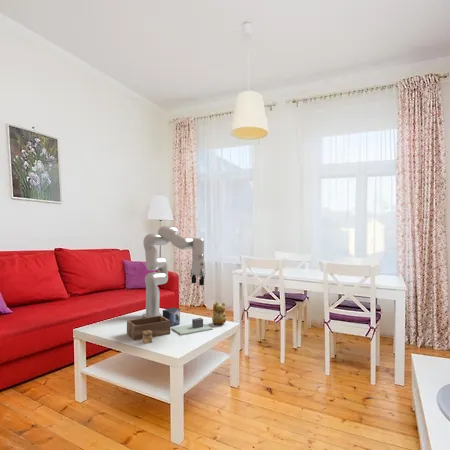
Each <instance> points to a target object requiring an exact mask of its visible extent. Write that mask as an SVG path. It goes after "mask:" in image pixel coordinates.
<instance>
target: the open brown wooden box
mask: <svg viewBox="0 0 450 450" xmlns="http://www.w3.org/2000/svg"><path fill="white" fill-rule="evenodd" d="M170 322H171V321H170V320H168V319H167V318H165V317H163V316H162V315H161V316H154V317H147V318H145V317H142V318H135V319H128V320H126V335H127V336H128V337H130V338H131V339H132V340H133V341H141V340H142V339H143V334H142V333H143V331H146V330H150V331H152V338H155V337H162V336H167V335H171V327H170Z"/></svg>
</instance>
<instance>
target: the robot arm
mask: <svg viewBox="0 0 450 450" xmlns="http://www.w3.org/2000/svg"><path fill="white" fill-rule="evenodd" d="M168 243H171V245H172V246H174V248H176V249H179V250H191V251H192V254H191V260H192V261H191V269H190V276H191V284H196V283H197V277H198V278H199V279H198V286H204V285H205V276H206V265H205V239H204V238H199V237H181V232H179V230H178V229H177V227H175V226H171V225H169V226H168V225H165V226H163V225H162V226H160V227H159V228H158V231H157V233H154V232H153V233H152V232H151V233H148V234H146V235H145V236H144V238H143V247H144V249H143V250H144V255H145V267H146V270H148V271H150V272H149V273H147V274H146V275H145V277H144V283H145V313H144V314H143V318H147V317H154V316H162V313H161V312H160V295H161V294H160V293H161V292H160V288H159V287H158V286H160V285H164V284H167V283H168V280H169V271H168V263H167V259H166V258H165V257H163V256H158V250H157V247H156V246H164V245H167V244H168ZM151 271H154V272H151Z"/></svg>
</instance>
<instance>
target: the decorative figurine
mask: <svg viewBox="0 0 450 450" xmlns="http://www.w3.org/2000/svg"><path fill="white" fill-rule="evenodd" d="M225 311H226V302H225V301H223V302H222V303H220V302H219V301H218V300H217V301H216V302H214V303H213V307H212V314H213V315H212V317H211V319H212V323H213V325H214V326H222V325H223V324H225V323H226V321H227V314H226V312H225Z"/></svg>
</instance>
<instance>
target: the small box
mask: <svg viewBox="0 0 450 450" xmlns="http://www.w3.org/2000/svg"><path fill="white" fill-rule="evenodd" d="M161 316H163V317H165V318H167V319H168V320H170V321H171V322H170V328H173V327H177V326H179V325H181V323H180V321H181V319H180V318H181V308H177V307H170V308H166V309H163V310H162V314H161Z"/></svg>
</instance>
